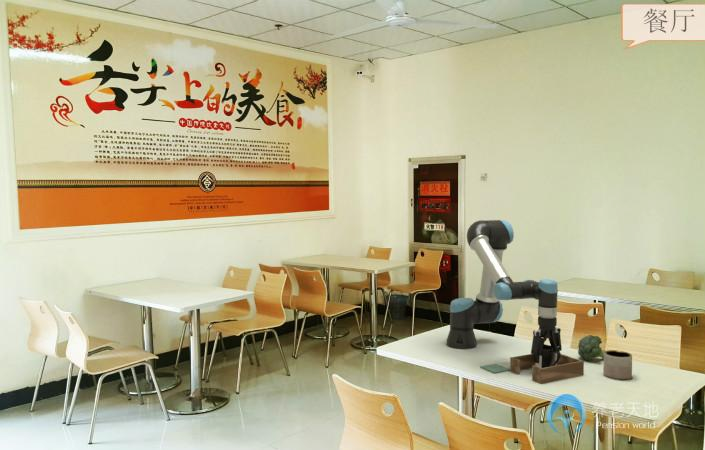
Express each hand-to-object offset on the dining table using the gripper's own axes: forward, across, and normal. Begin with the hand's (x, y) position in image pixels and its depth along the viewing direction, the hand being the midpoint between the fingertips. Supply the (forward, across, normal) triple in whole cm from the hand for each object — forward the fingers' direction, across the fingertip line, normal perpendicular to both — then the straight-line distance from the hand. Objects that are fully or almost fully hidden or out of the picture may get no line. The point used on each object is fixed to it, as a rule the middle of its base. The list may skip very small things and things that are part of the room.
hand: (545, 368), depth 235 cm
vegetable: (+2, +34, +4) cm, 35 cm away
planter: (+2, +24, -16) cm, 29 cm away
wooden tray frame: (+2, 0, 0) cm, 2 cm away
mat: (+2, -16, +14) cm, 21 cm away
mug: (+1, 0, 0) cm, 1 cm away
